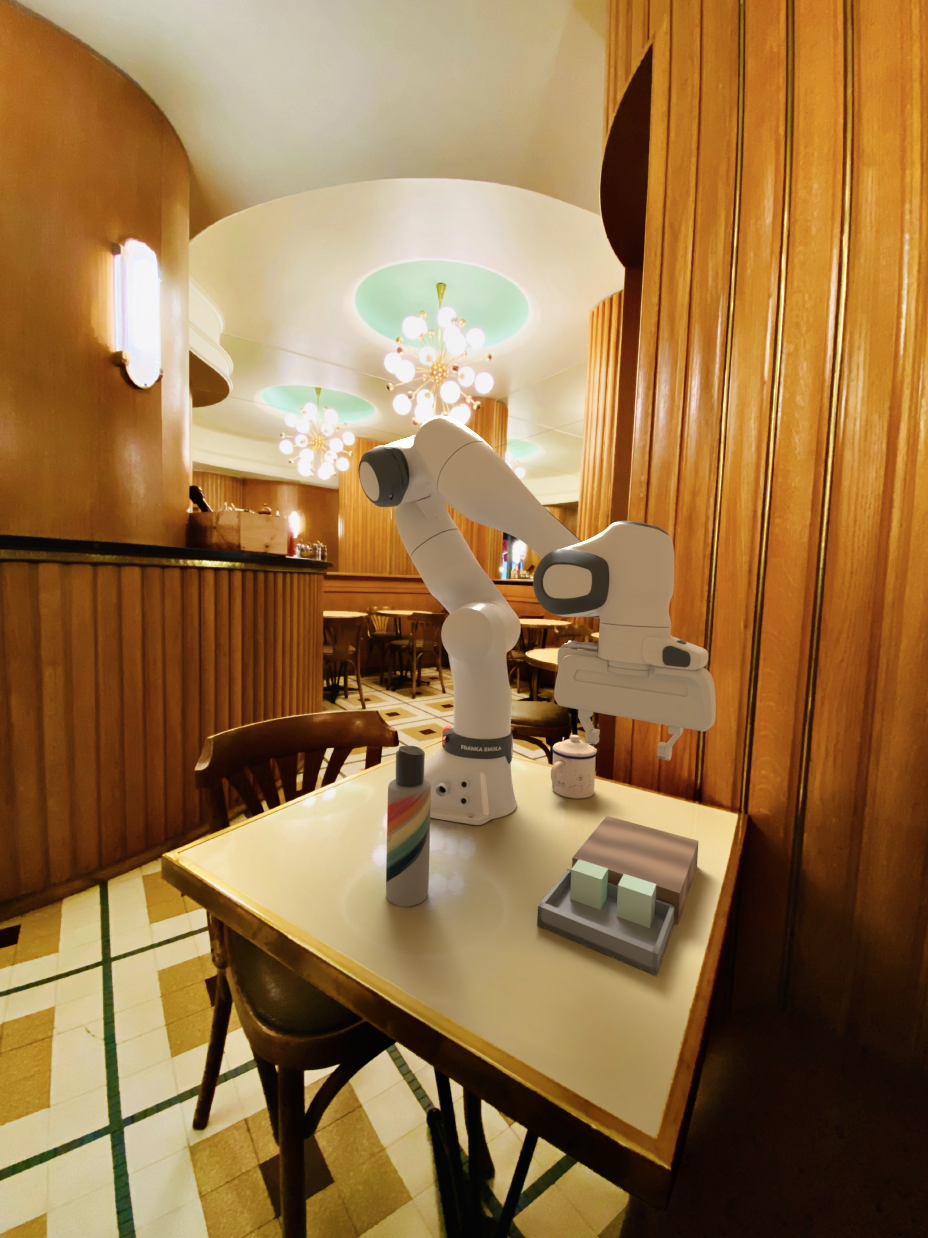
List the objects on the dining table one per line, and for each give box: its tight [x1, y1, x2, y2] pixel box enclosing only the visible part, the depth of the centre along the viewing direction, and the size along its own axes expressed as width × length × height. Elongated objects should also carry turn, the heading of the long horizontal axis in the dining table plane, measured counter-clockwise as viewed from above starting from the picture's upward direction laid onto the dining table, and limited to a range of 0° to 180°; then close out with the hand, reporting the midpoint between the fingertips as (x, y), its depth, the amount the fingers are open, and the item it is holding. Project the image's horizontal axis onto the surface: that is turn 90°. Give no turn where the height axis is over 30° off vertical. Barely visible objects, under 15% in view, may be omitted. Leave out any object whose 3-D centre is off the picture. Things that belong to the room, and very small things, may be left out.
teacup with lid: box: [550, 734, 598, 800], centre depth 101 cm, size 12×9×12 cm
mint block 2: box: [617, 874, 656, 928], centre depth 61 cm, size 4×4×3 cm
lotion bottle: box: [385, 745, 431, 908], centre depth 65 cm, size 6×6×20 cm
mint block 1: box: [570, 859, 608, 910], centre depth 64 cm, size 4×4×3 cm
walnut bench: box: [571, 815, 699, 925], centre depth 72 cm, size 16×14×4 cm
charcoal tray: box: [536, 868, 675, 977], centre depth 61 cm, size 10×14×2 cm
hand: (626, 750), depth 65 cm, fingers open, 8 cm apart
